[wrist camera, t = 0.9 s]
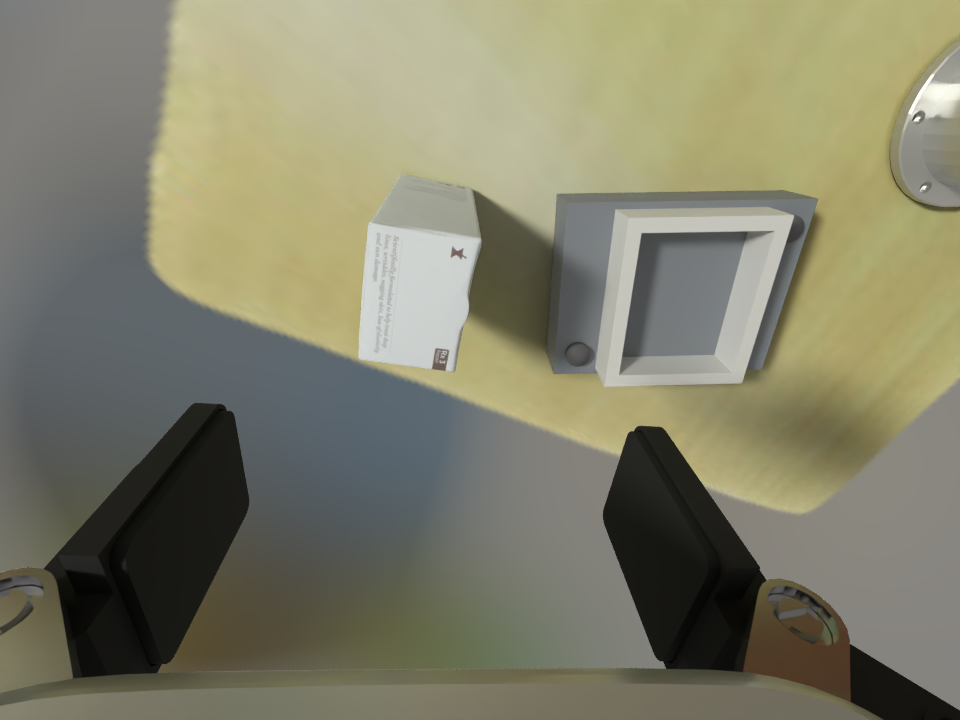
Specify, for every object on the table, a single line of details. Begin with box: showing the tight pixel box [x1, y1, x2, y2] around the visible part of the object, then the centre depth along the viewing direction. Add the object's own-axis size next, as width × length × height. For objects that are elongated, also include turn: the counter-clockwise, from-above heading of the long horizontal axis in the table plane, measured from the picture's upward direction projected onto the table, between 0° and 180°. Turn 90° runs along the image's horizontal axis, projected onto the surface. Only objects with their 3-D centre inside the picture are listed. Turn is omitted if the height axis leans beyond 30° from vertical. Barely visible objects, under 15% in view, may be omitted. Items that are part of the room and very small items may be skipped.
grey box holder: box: [546, 190, 818, 387], centre depth 36 cm, size 18×14×7 cm
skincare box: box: [359, 174, 482, 372], centre depth 30 cm, size 8×6×15 cm
